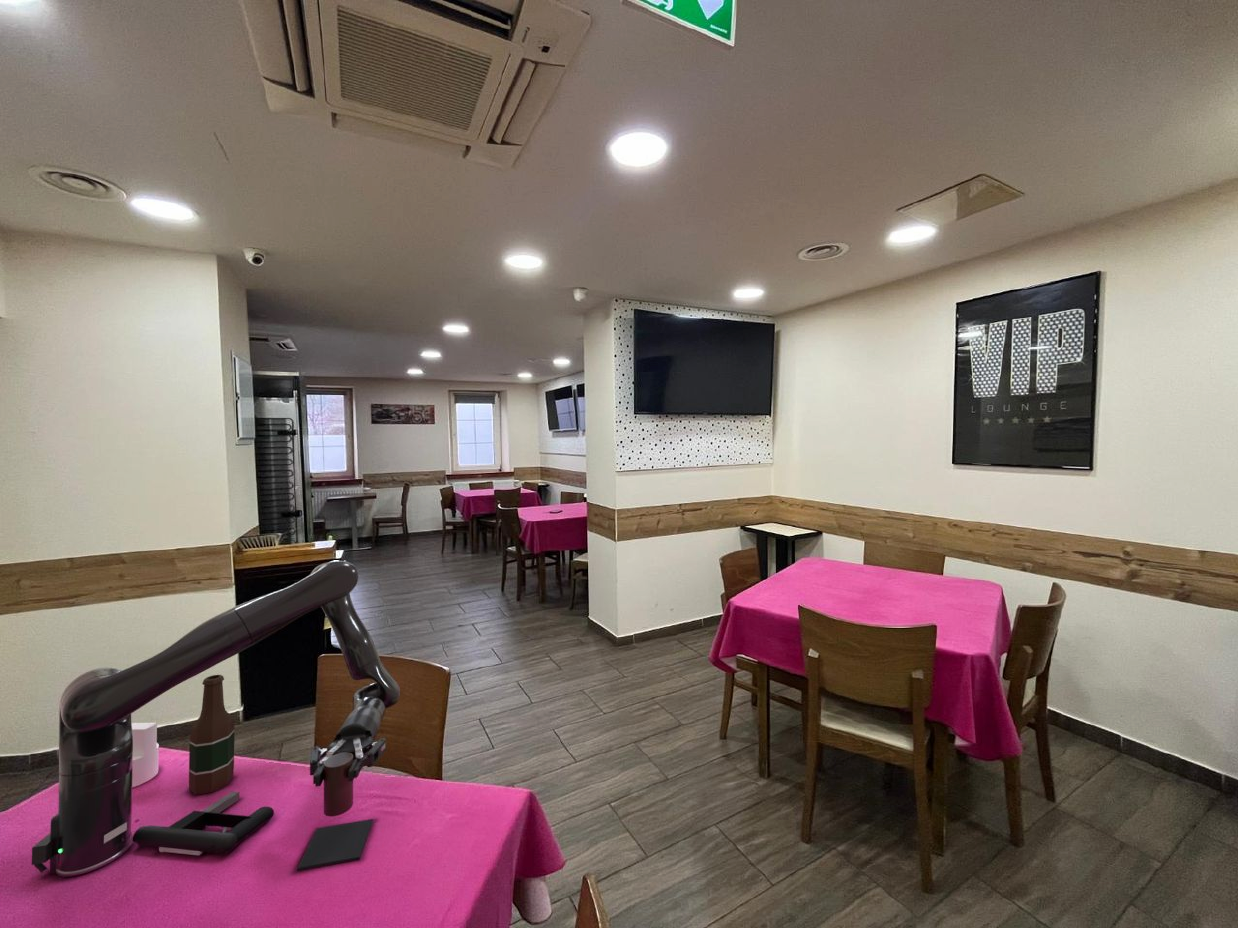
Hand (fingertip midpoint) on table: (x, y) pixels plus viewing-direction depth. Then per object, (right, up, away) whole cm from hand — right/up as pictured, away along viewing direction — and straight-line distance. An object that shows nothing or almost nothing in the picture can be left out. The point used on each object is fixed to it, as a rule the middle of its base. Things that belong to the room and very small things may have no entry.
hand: (334, 778), depth 89 cm
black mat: (-1, -14, +2) cm, 14 cm away
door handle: (-28, -14, +7) cm, 32 cm away
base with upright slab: (-60, -15, +22) cm, 65 cm away
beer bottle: (-39, -14, +20) cm, 46 cm away
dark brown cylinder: (-1, -7, +2) cm, 7 cm away
